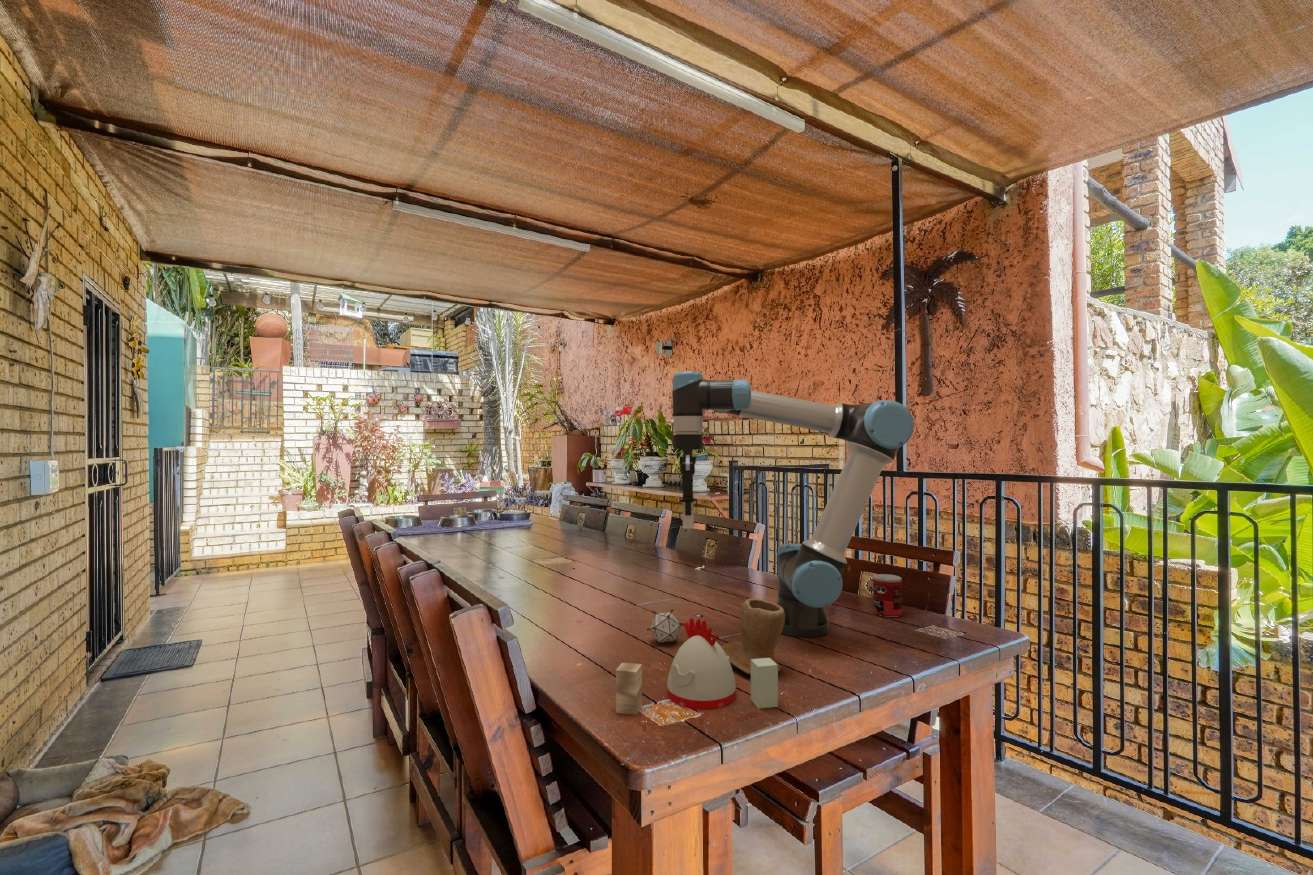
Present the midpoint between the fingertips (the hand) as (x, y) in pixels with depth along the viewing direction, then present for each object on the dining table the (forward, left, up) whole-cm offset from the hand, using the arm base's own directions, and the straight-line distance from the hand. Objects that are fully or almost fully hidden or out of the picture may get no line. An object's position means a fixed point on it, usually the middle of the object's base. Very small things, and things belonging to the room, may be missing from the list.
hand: (688, 527), depth 150 cm
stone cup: (-15, +13, -30) cm, 36 cm away
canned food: (-58, -30, -30) cm, 72 cm away
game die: (+6, -2, -30) cm, 30 cm away
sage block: (-15, +32, -29) cm, 46 cm away
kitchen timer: (-3, +28, -30) cm, 41 cm away
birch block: (+11, +36, -29) cm, 48 cm away
